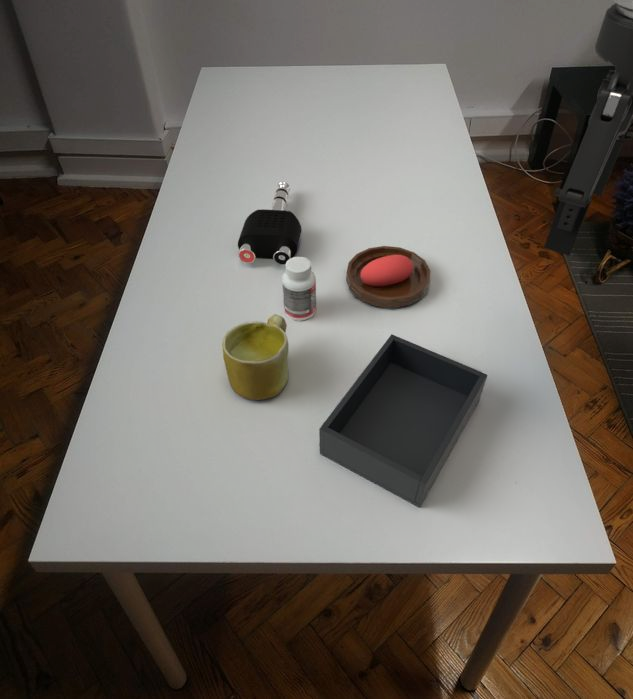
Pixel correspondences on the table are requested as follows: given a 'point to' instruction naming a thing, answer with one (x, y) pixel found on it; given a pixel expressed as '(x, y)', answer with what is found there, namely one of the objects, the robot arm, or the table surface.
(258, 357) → the mug
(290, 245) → the audio adapter
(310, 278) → the pill bottle
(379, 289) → the plate
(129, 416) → the table surface
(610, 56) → the robot arm
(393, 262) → the stress ball
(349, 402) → the bin
